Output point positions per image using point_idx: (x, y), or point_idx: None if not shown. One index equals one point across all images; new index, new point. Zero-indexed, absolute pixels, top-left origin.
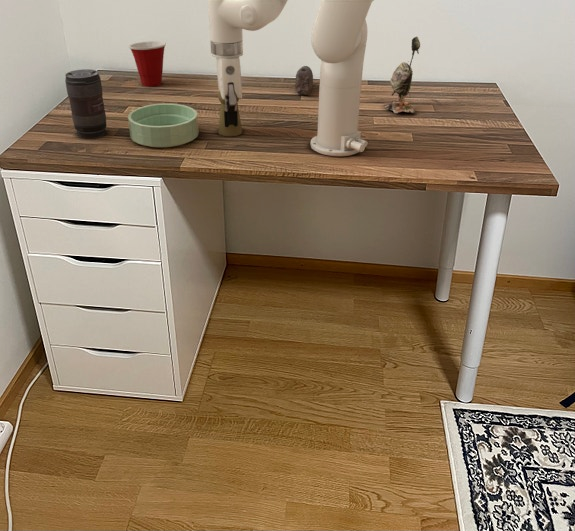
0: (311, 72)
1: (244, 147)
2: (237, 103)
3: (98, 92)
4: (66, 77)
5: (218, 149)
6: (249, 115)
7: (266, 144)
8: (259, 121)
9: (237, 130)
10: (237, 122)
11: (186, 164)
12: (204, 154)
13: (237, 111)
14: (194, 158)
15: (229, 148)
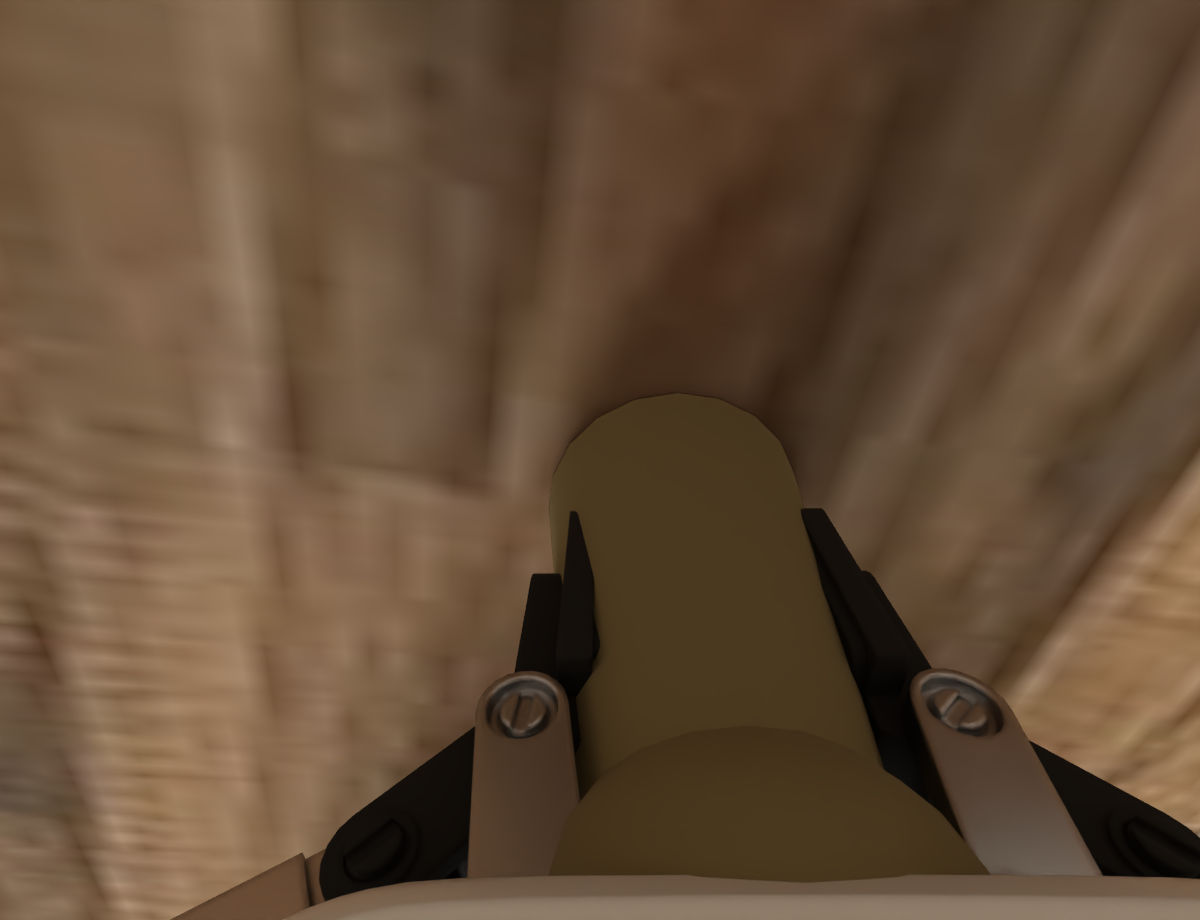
0: None
1: (1127, 424)
2: (782, 701)
3: None
4: None
5: (1043, 630)
6: (107, 226)
7: (1194, 153)
8: (334, 109)
9: (791, 477)
10: (835, 532)
11: (1183, 806)
12: (1084, 716)
13: (815, 613)
14: (1116, 768)
15: (1071, 553)
